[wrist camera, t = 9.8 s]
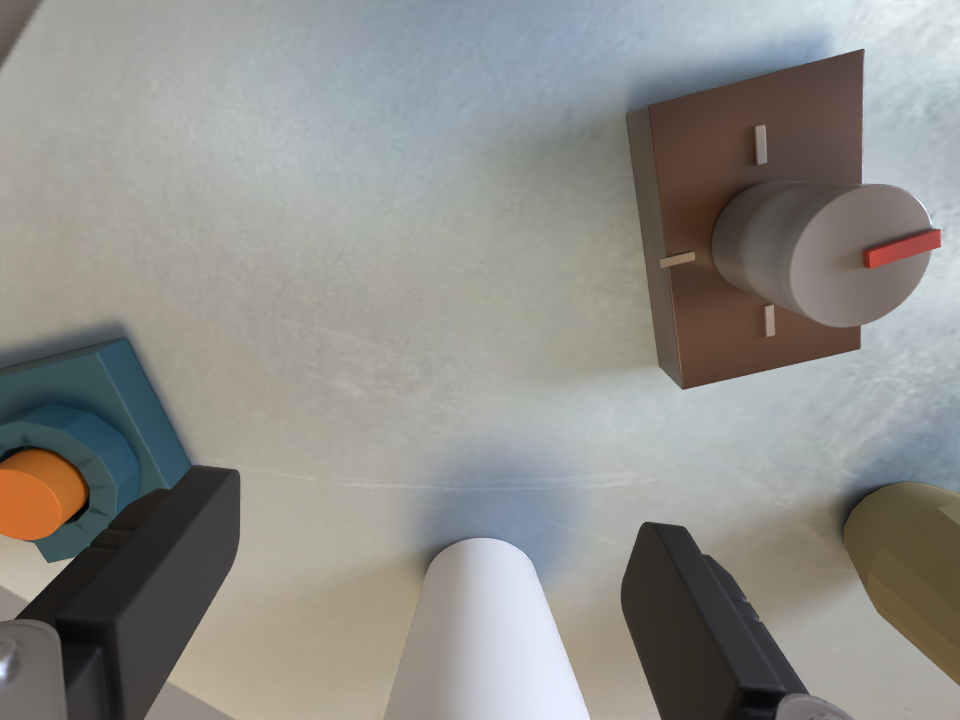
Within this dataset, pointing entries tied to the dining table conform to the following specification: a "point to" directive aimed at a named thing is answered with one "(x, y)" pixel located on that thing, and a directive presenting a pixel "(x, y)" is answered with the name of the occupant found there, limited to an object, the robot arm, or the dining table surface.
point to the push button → (38, 493)
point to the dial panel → (714, 184)
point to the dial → (826, 247)
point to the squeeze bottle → (912, 564)
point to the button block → (91, 433)
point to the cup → (484, 643)
